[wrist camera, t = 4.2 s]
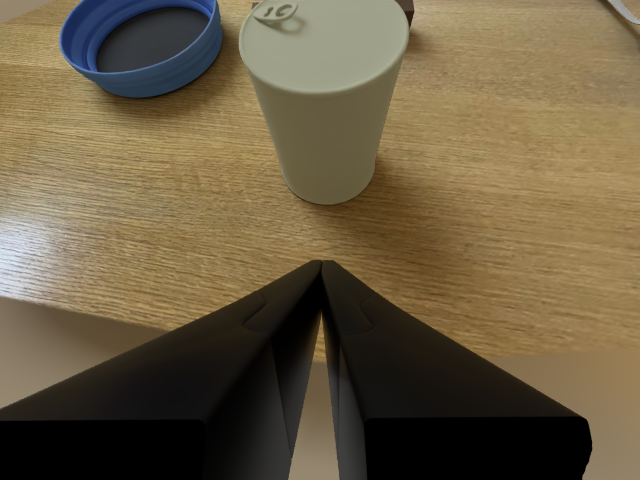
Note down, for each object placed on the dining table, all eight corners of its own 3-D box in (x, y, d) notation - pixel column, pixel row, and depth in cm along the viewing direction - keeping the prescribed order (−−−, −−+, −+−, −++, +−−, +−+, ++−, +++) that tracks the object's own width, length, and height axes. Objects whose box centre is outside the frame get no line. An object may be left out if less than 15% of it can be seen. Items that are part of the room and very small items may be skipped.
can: (305, 116, 26) (283, -47, 14) (388, 142, 24) (437, -18, 13) (265, 185, 23) (198, 56, 12) (353, 219, 22) (375, 109, 10)
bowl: (236, 85, 28) (222, 52, 24) (82, 118, 27) (47, 90, 24) (222, -8, 33) (209, -44, 30) (95, 19, 33) (67, -15, 30)
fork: (570, -9, 33) (589, -39, 30) (688, 85, 24) (729, 55, 21) (550, -6, 33) (567, -35, 30) (660, 90, 24) (697, 59, 22)
